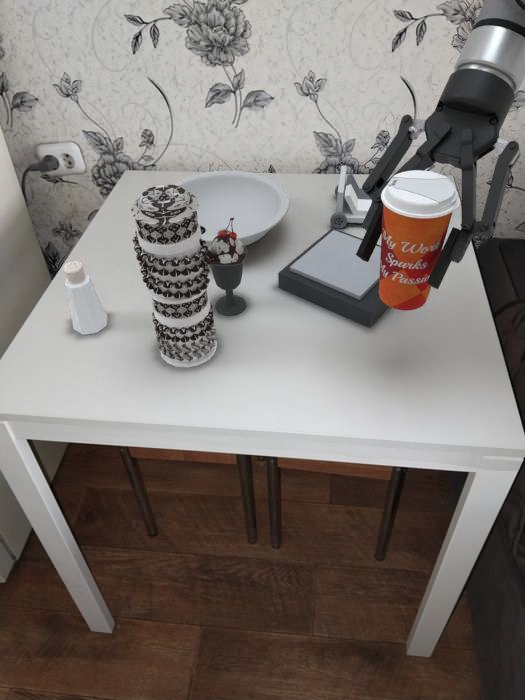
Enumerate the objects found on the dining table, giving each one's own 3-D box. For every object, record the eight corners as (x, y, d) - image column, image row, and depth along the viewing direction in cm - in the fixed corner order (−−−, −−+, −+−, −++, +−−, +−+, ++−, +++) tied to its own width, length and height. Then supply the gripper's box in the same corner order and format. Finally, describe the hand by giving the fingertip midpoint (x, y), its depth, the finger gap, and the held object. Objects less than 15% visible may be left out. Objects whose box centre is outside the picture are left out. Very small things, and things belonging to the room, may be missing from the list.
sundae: (253, 292, 96) (248, 211, 85) (249, 319, 91) (243, 237, 80) (213, 291, 96) (203, 210, 86) (206, 318, 91) (195, 236, 81)
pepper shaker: (68, 320, 92) (48, 262, 85) (101, 308, 94) (84, 250, 87) (79, 340, 89) (59, 282, 81) (113, 327, 91) (97, 269, 83)
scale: (418, 275, 98) (421, 256, 95) (369, 327, 89) (371, 308, 86) (331, 242, 105) (332, 223, 103) (278, 287, 96) (278, 268, 94)
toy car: (436, 153, 107) (439, 184, 99) (427, 201, 114) (430, 234, 106) (337, 149, 110) (332, 179, 102) (334, 196, 117) (329, 228, 108)
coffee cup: (362, 308, 72) (374, 198, 62) (378, 269, 77) (392, 163, 67) (431, 323, 70) (455, 212, 59) (443, 283, 75) (468, 174, 65)
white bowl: (289, 199, 116) (289, 168, 112) (290, 272, 99) (289, 239, 95) (169, 201, 117) (163, 171, 113) (148, 274, 100) (141, 241, 96)
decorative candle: (159, 328, 90) (127, 178, 73) (219, 324, 90) (201, 173, 73) (154, 371, 84) (118, 217, 66) (219, 366, 84) (200, 212, 66)
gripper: (581, 120, 64) (488, 311, 66) (405, 81, 74) (330, 249, 76) (583, 85, 57) (480, 299, 60) (390, 48, 67) (307, 233, 69)
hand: (396, 271), depth 68 cm, fingers closed on coffee cup, 8 cm apart
